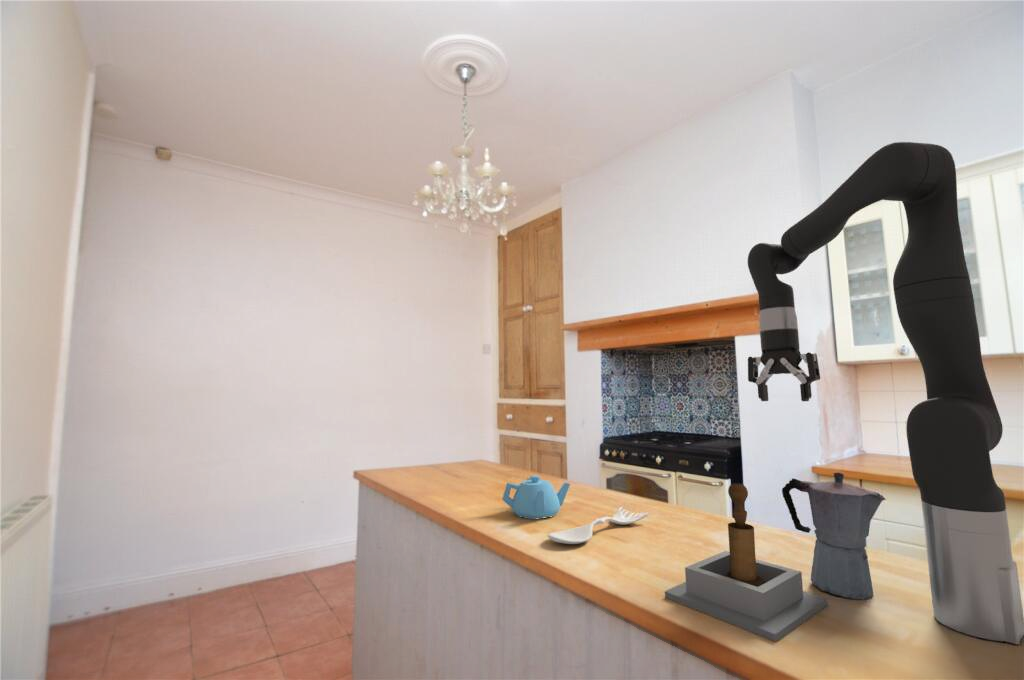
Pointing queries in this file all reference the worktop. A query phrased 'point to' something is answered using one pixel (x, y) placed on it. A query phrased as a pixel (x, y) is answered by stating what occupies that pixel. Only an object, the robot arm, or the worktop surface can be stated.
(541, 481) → the teapot
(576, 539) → the white spork utensil
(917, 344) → the robot arm
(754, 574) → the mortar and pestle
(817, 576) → the moka pot
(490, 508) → the worktop surface
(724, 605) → the socket board
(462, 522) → the worktop surface
